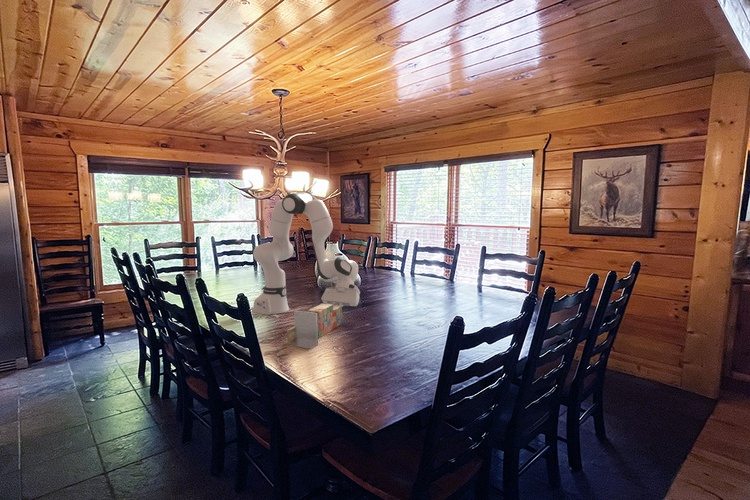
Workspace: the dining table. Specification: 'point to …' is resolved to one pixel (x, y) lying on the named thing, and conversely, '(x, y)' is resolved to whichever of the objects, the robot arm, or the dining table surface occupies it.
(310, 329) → the bookend
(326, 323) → the stack of blocks
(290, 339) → the back rail
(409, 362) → the dining table surface
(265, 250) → the robot arm
